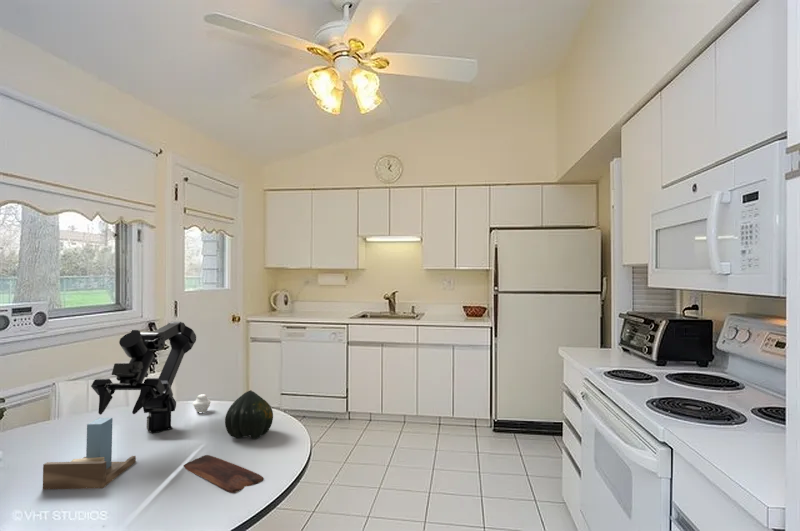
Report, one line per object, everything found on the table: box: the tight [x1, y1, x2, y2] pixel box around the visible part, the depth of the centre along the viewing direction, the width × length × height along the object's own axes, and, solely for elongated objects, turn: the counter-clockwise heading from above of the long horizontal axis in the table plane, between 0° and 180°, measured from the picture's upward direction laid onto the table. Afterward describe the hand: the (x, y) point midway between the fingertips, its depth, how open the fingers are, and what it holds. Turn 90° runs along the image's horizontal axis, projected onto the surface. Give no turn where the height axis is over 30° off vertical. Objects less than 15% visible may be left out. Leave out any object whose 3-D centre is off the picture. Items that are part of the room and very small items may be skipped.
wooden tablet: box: [183, 454, 264, 494], centre depth 116 cm, size 26×2×10 cm
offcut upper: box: [70, 457, 104, 462], centre depth 108 cm, size 4×7×2 cm, turn 102°
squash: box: [224, 389, 274, 440], centre depth 143 cm, size 14×15×15 cm
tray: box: [42, 455, 137, 491], centre depth 112 cm, size 15×14×7 cm
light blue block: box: [85, 417, 113, 469], centre depth 114 cm, size 5×4×13 cm
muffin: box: [192, 393, 211, 413], centre depth 165 cm, size 6×6×7 cm
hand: (116, 413), depth 122 cm, fingers open, 9 cm apart
